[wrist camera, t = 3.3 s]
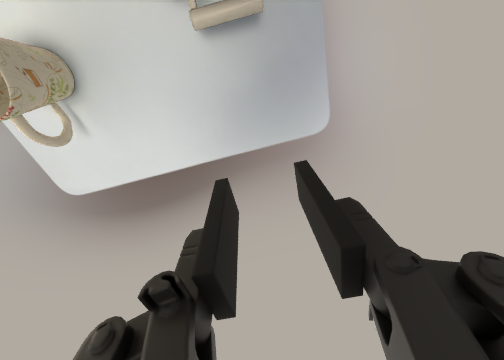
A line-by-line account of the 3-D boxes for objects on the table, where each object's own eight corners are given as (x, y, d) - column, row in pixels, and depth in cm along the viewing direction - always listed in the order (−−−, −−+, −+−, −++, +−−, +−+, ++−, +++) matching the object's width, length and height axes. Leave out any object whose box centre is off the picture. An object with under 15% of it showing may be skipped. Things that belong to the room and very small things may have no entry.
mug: (52, 27, 24) (-55, 2, 16) (115, 125, 30) (64, 147, 22) (-3, 50, 25) (-133, 39, 16) (69, 141, 31) (1, 169, 22)
